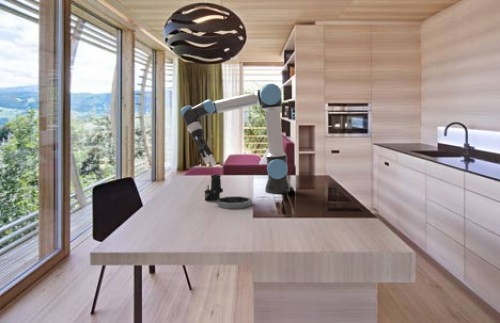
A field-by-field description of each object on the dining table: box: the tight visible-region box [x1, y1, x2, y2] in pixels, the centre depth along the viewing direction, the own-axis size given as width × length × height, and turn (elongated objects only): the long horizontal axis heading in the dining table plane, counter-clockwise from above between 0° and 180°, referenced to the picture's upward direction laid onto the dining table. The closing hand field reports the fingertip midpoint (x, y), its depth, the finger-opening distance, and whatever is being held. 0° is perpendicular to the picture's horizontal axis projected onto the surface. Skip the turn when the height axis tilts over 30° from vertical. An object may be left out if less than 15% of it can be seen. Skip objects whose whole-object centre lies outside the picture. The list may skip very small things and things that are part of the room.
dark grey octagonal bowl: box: [216, 195, 253, 210], centre depth 210 cm, size 18×18×2 cm
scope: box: [203, 174, 224, 202], centre depth 222 cm, size 8×14×10 cm
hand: (211, 164), depth 226 cm, fingers open, 13 cm apart
